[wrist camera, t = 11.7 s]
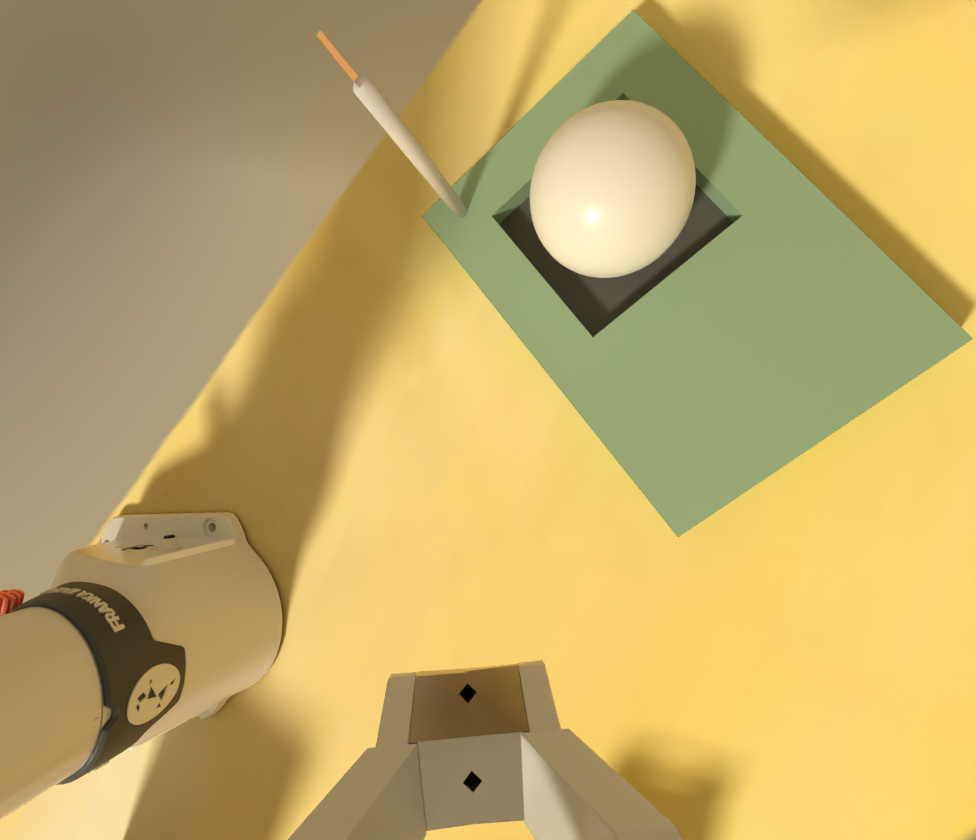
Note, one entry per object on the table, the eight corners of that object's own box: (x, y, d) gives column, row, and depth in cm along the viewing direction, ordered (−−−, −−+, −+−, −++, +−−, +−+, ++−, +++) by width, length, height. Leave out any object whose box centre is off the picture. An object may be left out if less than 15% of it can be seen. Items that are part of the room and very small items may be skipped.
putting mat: (950, 344, 29) (1297, 252, 14) (675, 531, 34) (711, 616, 18) (615, 15, 36) (602, -298, 20) (418, 209, 40) (284, 71, 25)
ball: (538, 289, 28) (509, 257, 36) (699, 299, 29) (635, 266, 38) (566, 78, 23) (526, 98, 32) (757, 102, 24) (669, 116, 33)
